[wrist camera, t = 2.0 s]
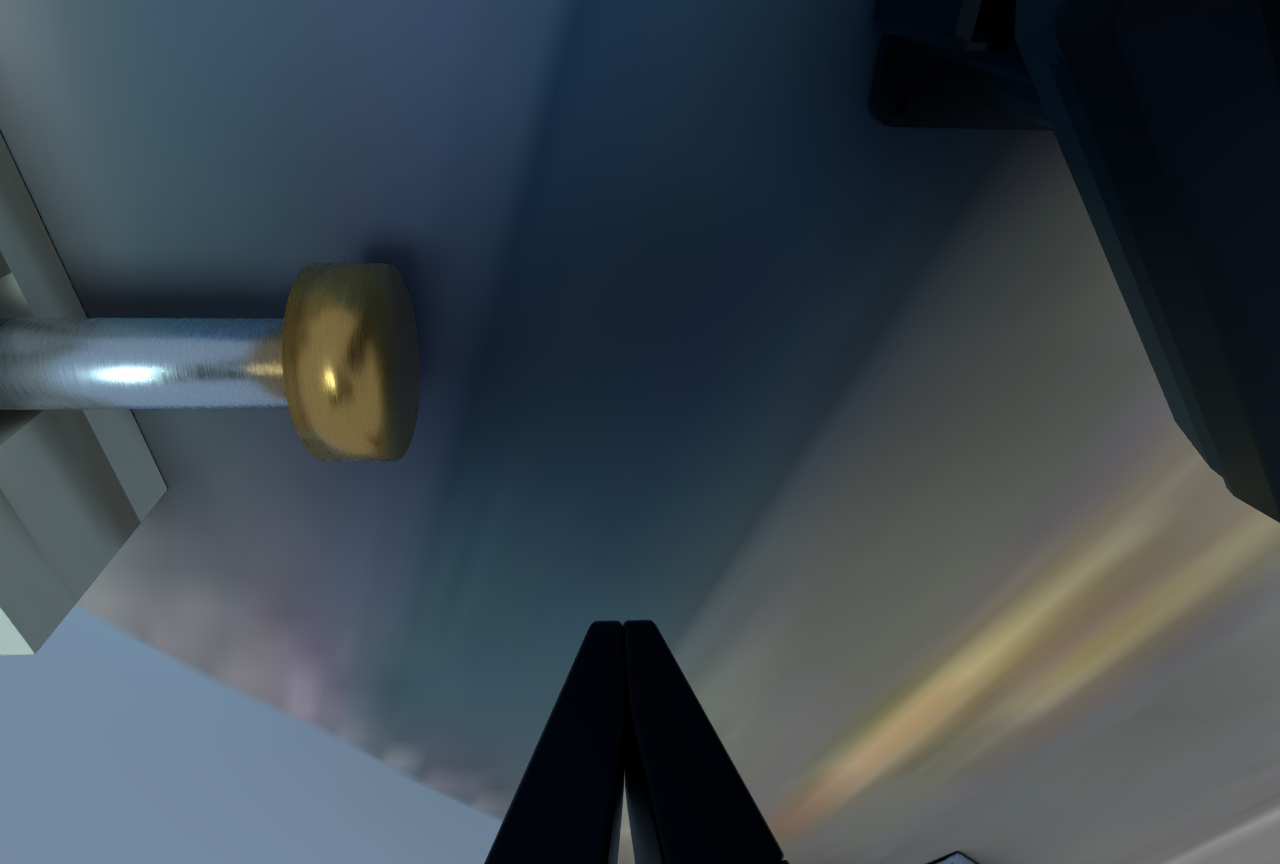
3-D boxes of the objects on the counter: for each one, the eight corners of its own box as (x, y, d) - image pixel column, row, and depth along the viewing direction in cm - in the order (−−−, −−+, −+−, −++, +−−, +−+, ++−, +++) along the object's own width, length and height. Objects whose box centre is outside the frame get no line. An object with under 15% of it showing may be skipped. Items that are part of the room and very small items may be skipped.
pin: (401, 235, 16) (344, 315, 12) (428, 395, 18) (388, 501, 15) (-125, 229, 15) (-347, 313, 12) (-22, 397, 18) (-179, 508, 14)
